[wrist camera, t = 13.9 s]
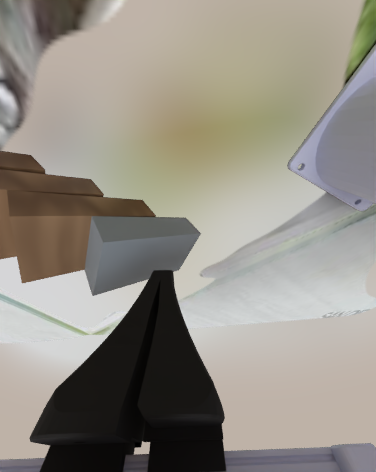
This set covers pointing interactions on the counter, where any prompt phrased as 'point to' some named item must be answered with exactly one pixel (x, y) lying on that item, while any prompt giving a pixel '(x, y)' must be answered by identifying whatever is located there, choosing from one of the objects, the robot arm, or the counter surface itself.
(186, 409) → the robot arm
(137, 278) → the slate domino
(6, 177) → the walnut domino
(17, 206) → the walnut domino
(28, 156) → the walnut domino
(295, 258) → the counter surface
